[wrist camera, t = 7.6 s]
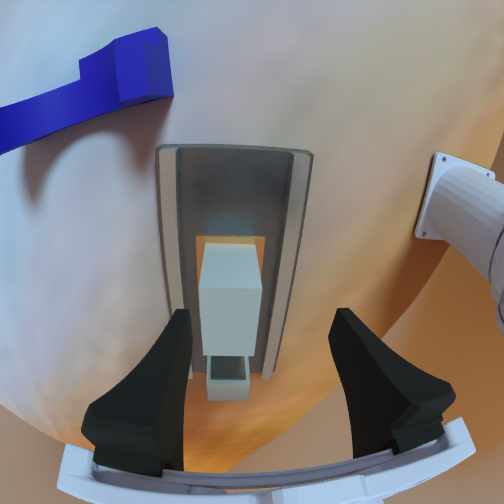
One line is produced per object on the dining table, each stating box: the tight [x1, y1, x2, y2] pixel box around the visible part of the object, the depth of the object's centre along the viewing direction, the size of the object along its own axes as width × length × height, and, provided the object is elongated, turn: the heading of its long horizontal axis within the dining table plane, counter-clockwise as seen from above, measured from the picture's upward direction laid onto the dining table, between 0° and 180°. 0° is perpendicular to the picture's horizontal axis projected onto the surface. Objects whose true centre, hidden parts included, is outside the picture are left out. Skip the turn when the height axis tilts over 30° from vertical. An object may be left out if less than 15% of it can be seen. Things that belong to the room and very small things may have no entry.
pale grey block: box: [199, 243, 262, 356], centre depth 19 cm, size 4×6×5 cm, turn 176°
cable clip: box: [0, 27, 174, 155], centre depth 12 cm, size 12×4×6 cm, turn 96°
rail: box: [155, 144, 314, 380], centre depth 22 cm, size 10×22×2 cm, turn 176°
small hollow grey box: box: [206, 356, 250, 401], centre depth 23 cm, size 4×3×5 cm
